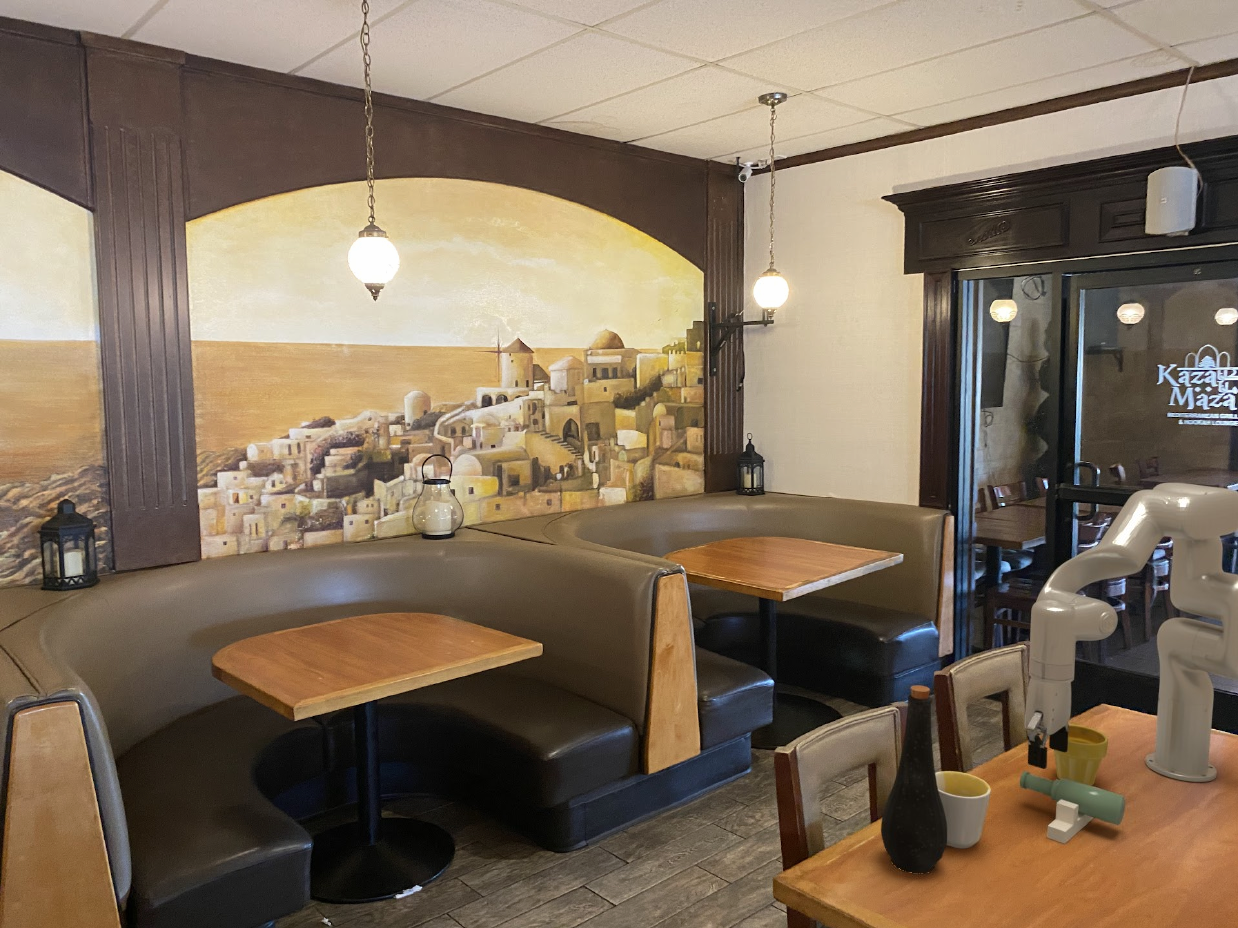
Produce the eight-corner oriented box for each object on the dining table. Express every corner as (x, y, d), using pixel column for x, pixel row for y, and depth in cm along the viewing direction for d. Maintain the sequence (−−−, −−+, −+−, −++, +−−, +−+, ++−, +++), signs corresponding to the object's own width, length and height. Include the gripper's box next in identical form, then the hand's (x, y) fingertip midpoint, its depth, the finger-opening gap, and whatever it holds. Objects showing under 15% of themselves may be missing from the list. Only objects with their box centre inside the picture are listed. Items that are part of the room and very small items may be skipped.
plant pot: (1116, 790, 184) (1120, 742, 183) (1068, 793, 182) (1071, 744, 181) (1083, 767, 194) (1086, 722, 193) (1037, 770, 193) (1040, 724, 192)
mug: (962, 861, 157) (965, 801, 156) (913, 835, 165) (915, 778, 164) (1012, 840, 164) (1015, 782, 163) (963, 816, 173) (965, 761, 172)
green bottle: (1120, 828, 166) (1023, 796, 178) (1127, 799, 168) (1031, 769, 180) (1112, 821, 163) (1014, 788, 175) (1119, 791, 164) (1022, 762, 176)
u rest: (1084, 804, 178) (1086, 778, 177) (1101, 810, 175) (1103, 783, 175) (1047, 837, 165) (1048, 809, 165) (1064, 843, 163) (1066, 815, 162)
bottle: (950, 883, 150) (959, 702, 147) (882, 875, 152) (889, 696, 149) (941, 849, 161) (949, 680, 157) (877, 843, 163) (884, 675, 159)
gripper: (1049, 653, 180) (1045, 738, 182) (1010, 675, 168) (1007, 766, 170) (1090, 662, 175) (1086, 749, 177) (1053, 685, 163) (1050, 779, 165)
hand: (1047, 757), depth 174 cm, fingers open, 9 cm apart
